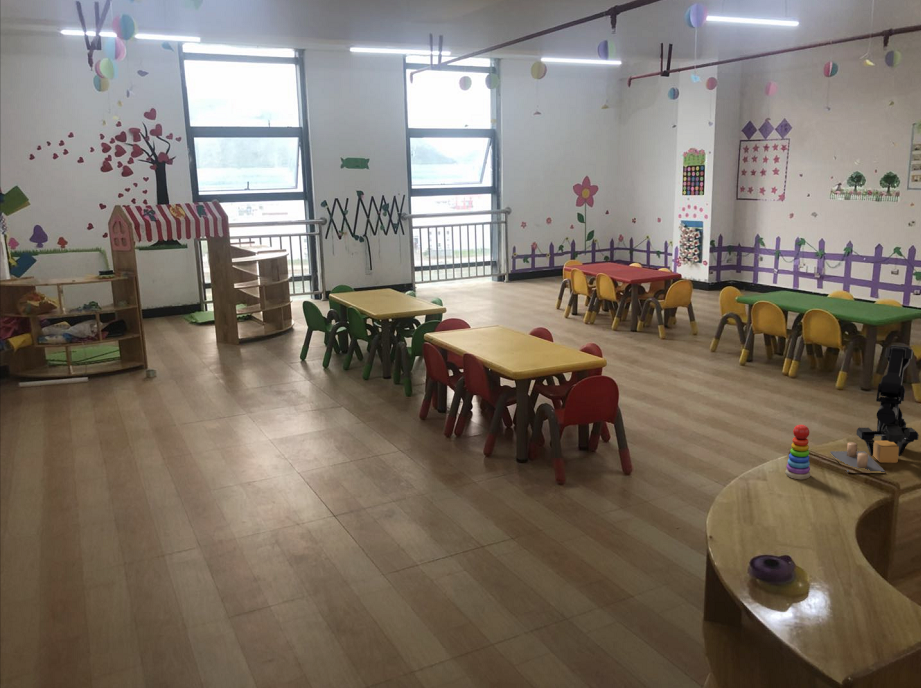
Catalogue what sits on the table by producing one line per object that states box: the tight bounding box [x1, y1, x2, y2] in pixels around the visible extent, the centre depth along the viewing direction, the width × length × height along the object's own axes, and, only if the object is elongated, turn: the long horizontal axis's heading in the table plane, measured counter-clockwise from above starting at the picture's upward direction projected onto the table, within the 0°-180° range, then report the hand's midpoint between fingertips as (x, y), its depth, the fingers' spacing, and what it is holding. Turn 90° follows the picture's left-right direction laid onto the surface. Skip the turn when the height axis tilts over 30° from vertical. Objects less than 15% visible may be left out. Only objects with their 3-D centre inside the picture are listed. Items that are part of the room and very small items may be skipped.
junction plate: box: [829, 441, 886, 473], centre depth 263 cm, size 18×12×6 cm, turn 172°
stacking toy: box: [785, 424, 811, 480], centre depth 255 cm, size 8×8×19 cm
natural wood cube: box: [872, 440, 899, 464], centre depth 265 cm, size 6×6×6 cm
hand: (885, 456), depth 266 cm, fingers open, 9 cm apart
